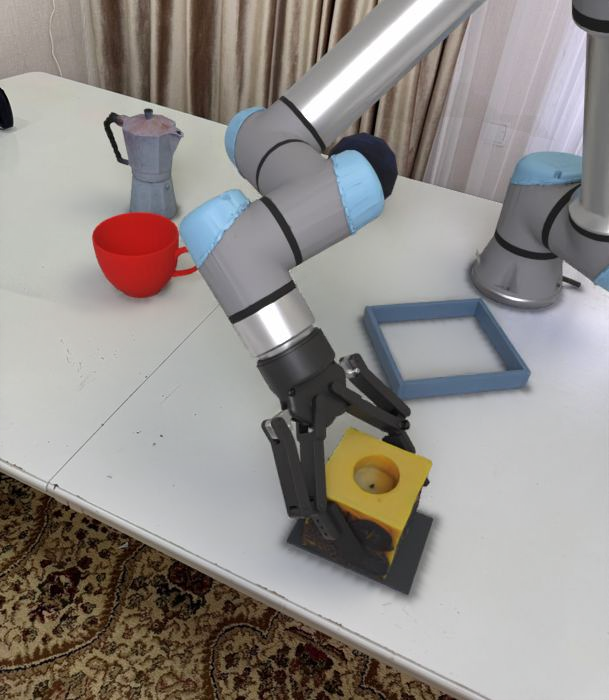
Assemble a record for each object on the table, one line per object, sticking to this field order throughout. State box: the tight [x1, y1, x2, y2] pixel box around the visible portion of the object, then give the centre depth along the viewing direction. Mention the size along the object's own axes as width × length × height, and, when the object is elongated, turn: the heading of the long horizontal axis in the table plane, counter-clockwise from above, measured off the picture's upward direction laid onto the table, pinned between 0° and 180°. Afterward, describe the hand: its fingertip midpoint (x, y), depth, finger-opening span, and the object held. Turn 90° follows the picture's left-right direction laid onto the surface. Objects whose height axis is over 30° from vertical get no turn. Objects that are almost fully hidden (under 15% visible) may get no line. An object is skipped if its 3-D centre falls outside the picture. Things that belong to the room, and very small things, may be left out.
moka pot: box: [102, 107, 185, 220], centre depth 113 cm, size 10×15×20 cm, turn 78°
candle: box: [300, 426, 433, 581], centre depth 67 cm, size 10×10×10 cm
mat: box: [286, 511, 434, 596], centre depth 70 cm, size 14×10×1 cm
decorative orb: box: [326, 131, 399, 201], centre depth 123 cm, size 14×15×15 cm
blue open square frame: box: [362, 297, 532, 401], centre depth 93 cm, size 20×18×3 cm
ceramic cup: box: [91, 212, 199, 299], centre depth 98 cm, size 13×17×10 cm
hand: (389, 519), depth 65 cm, fingers closed on candle, 11 cm apart
